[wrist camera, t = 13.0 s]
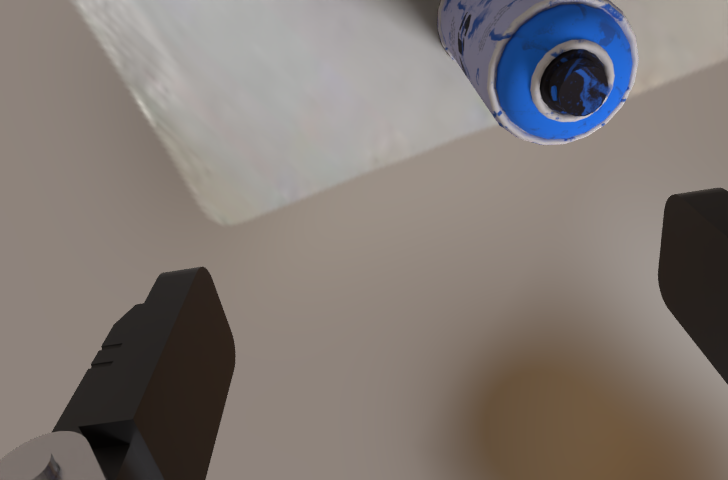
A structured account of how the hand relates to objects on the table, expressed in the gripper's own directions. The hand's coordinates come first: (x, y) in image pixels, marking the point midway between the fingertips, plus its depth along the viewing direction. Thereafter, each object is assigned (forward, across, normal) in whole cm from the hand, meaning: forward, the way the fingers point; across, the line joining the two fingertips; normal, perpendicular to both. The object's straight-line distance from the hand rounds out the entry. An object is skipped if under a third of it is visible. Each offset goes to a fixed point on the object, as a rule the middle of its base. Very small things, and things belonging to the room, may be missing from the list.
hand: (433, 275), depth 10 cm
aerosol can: (+36, -8, +3) cm, 37 cm away
